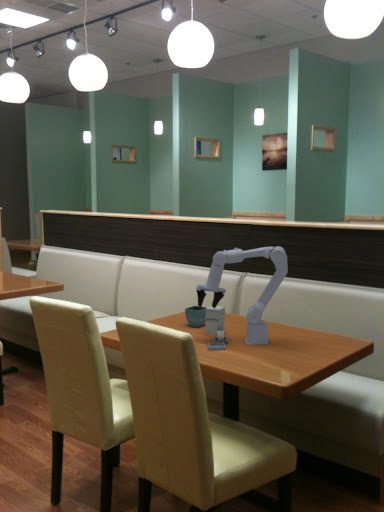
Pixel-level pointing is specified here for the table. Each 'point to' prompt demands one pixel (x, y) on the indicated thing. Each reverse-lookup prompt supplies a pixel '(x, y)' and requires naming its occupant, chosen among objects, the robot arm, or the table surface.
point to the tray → (216, 346)
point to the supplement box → (214, 319)
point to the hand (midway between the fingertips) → (206, 306)
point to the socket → (220, 340)
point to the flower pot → (196, 315)
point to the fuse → (220, 333)
